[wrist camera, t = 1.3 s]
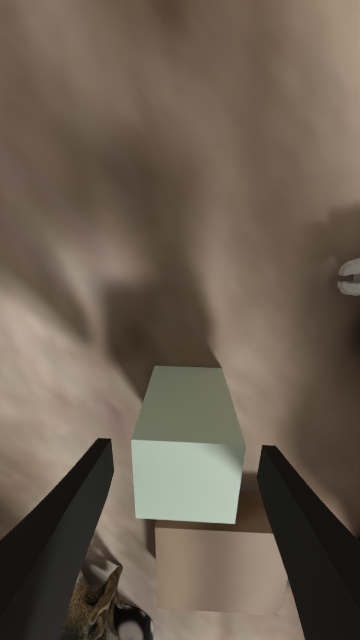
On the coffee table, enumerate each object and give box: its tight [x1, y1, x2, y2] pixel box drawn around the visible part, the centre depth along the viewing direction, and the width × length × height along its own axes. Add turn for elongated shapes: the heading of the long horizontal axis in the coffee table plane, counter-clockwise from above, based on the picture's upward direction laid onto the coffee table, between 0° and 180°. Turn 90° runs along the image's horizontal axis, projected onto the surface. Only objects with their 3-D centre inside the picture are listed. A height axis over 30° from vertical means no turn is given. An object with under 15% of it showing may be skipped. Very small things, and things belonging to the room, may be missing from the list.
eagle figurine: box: [59, 565, 124, 640], centre depth 18 cm, size 8×7×9 cm
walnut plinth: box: [155, 493, 288, 616], centre depth 17 cm, size 10×10×3 cm
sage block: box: [131, 366, 246, 524], centre depth 12 cm, size 4×4×6 cm
